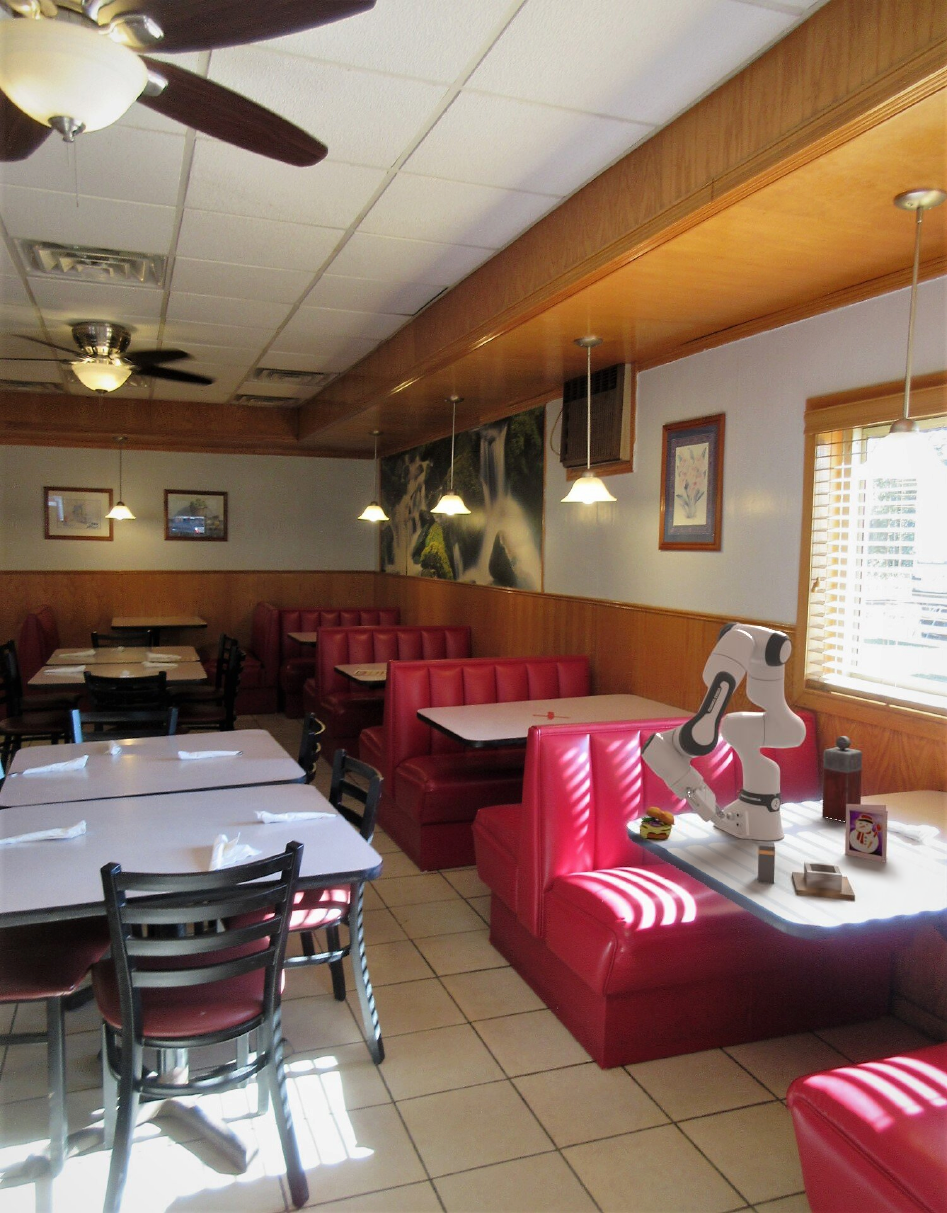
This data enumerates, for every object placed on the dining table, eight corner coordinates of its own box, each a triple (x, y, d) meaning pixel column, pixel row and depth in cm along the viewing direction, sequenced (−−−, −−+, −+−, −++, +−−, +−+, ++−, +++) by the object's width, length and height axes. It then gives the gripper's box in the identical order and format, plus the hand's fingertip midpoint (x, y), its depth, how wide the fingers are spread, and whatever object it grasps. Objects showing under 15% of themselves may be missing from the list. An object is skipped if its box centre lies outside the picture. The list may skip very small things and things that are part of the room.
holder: (796, 894, 227) (797, 874, 226) (792, 875, 240) (792, 857, 240) (854, 899, 223) (855, 879, 223) (846, 881, 236) (847, 862, 236)
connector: (758, 882, 235) (759, 845, 235) (757, 877, 239) (758, 841, 239) (774, 883, 234) (775, 846, 234) (773, 878, 238) (774, 842, 238)
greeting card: (844, 854, 259) (845, 804, 258) (851, 848, 264) (852, 799, 264) (885, 862, 251) (886, 811, 251) (892, 856, 257) (893, 806, 256)
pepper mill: (864, 817, 297) (866, 736, 296) (846, 823, 291) (848, 739, 290) (839, 811, 305) (841, 732, 303) (821, 816, 298) (823, 735, 297)
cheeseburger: (630, 833, 277) (636, 802, 278) (655, 836, 282) (660, 806, 283) (652, 841, 268) (658, 809, 269) (677, 845, 274) (683, 813, 275)
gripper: (695, 785, 230) (733, 825, 228) (696, 768, 250) (731, 805, 248) (677, 801, 232) (715, 840, 230) (680, 783, 251) (715, 819, 249)
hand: (723, 822), depth 239 cm, fingers open, 8 cm apart
